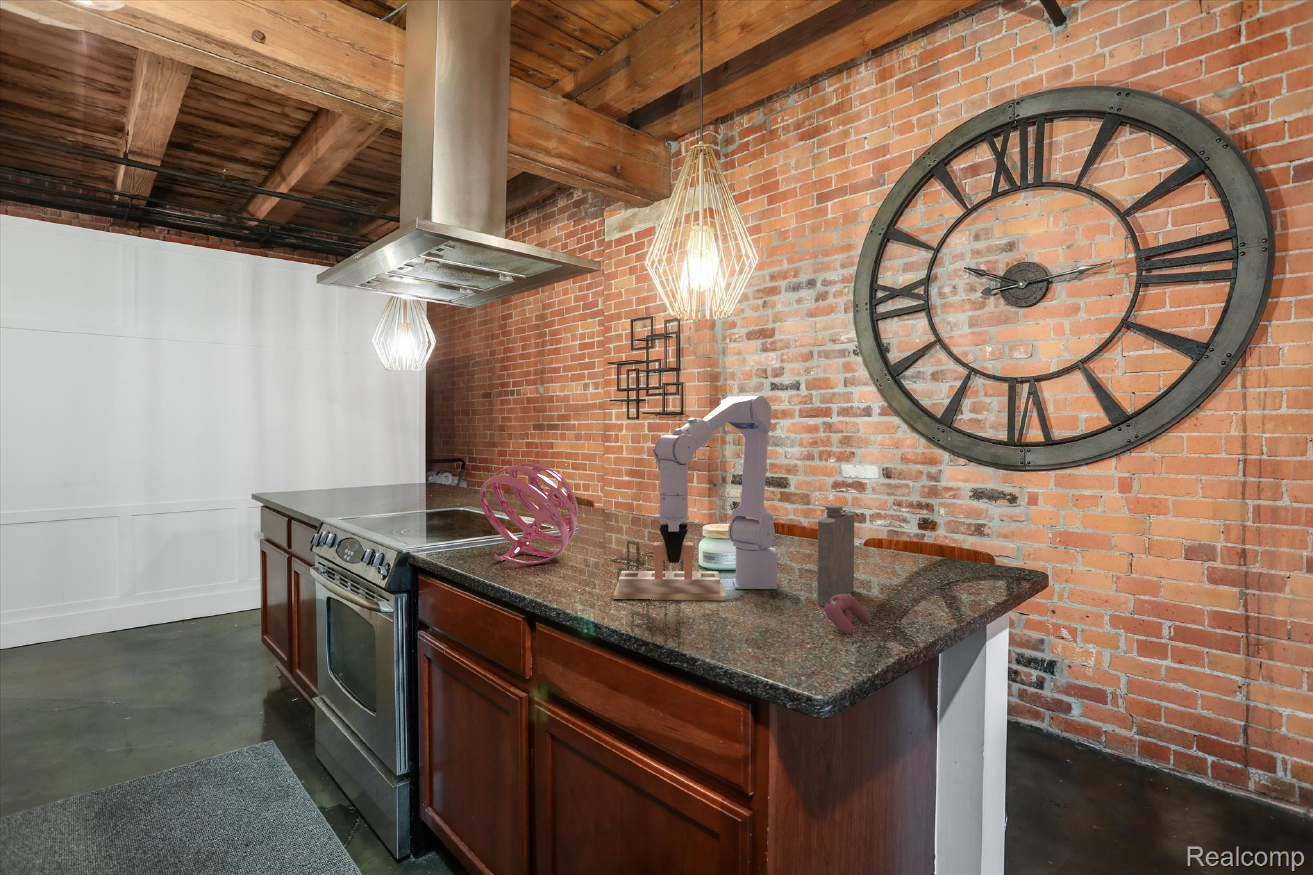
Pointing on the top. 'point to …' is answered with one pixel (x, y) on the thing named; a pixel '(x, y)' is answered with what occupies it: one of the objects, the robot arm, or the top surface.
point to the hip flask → (835, 554)
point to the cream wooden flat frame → (669, 586)
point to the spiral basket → (532, 510)
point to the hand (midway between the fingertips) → (673, 560)
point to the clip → (661, 555)
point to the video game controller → (845, 612)
